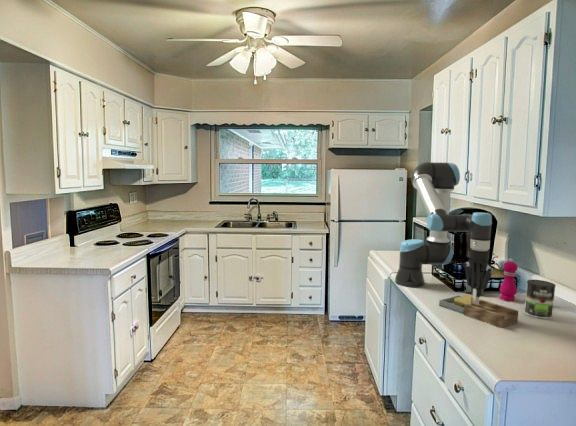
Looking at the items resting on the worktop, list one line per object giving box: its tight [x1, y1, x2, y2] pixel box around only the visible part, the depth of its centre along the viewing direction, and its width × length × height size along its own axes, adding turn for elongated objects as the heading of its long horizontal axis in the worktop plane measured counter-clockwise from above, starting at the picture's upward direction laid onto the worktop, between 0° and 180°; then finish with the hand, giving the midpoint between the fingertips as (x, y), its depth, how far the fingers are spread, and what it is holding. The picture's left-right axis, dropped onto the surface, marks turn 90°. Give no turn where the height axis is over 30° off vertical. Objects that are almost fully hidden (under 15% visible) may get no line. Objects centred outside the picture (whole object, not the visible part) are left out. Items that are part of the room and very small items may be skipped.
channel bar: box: [463, 299, 519, 329], centre depth 167 cm, size 16×12×5 cm
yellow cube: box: [462, 293, 476, 306], centre depth 175 cm, size 4×4×4 cm
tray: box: [438, 295, 478, 315], centre depth 181 cm, size 12×14×2 cm
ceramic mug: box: [464, 281, 484, 295], centre depth 203 cm, size 11×8×8 cm
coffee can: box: [524, 279, 556, 320], centre depth 173 cm, size 10×10×14 cm
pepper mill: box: [499, 258, 518, 302], centre depth 192 cm, size 7×7×20 cm
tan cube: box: [454, 296, 465, 308], centre depth 178 cm, size 4×4×4 cm
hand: (475, 303), depth 173 cm, fingers closed
